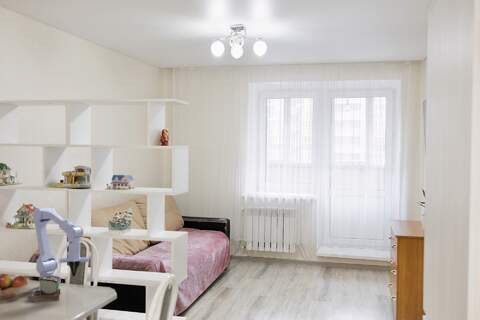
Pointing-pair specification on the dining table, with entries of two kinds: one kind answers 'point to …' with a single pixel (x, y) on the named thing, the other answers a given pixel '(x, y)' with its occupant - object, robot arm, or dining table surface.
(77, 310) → the dining table surface
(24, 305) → the dining table surface
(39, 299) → the bottom track
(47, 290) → the food container
